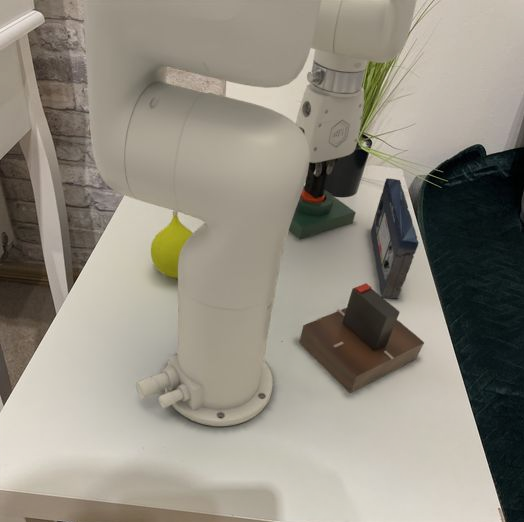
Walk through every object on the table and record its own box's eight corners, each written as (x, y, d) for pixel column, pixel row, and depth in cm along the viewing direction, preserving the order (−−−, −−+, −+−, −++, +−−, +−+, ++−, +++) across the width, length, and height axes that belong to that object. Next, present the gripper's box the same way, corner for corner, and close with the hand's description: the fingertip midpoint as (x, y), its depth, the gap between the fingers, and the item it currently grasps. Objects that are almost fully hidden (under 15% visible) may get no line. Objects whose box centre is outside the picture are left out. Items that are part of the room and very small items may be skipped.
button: (309, 211, 87) (311, 202, 86) (294, 200, 89) (296, 190, 88) (327, 206, 89) (329, 197, 88) (312, 195, 91) (314, 186, 90)
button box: (299, 239, 85) (303, 218, 83) (264, 210, 91) (266, 189, 88) (352, 223, 91) (358, 202, 88) (316, 196, 96) (320, 176, 94)
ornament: (178, 252, 79) (178, 191, 72) (211, 274, 76) (215, 213, 69) (141, 271, 75) (137, 208, 68) (175, 294, 72) (175, 232, 65)
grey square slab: (386, 345, 65) (400, 310, 61) (374, 351, 64) (387, 316, 60) (354, 316, 68) (366, 281, 64) (342, 321, 67) (353, 286, 63)
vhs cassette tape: (369, 231, 90) (386, 177, 83) (386, 233, 90) (404, 179, 83) (377, 298, 77) (398, 240, 70) (397, 300, 77) (420, 243, 70)
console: (350, 393, 63) (357, 376, 61) (298, 341, 68) (302, 323, 66) (417, 359, 68) (425, 341, 66) (364, 313, 74) (370, 296, 72)
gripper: (313, 92, 69) (292, 214, 82) (391, 81, 77) (360, 195, 90) (280, 73, 73) (264, 192, 86) (357, 64, 81) (332, 175, 93)
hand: (313, 193), depth 88 cm, fingers closed
